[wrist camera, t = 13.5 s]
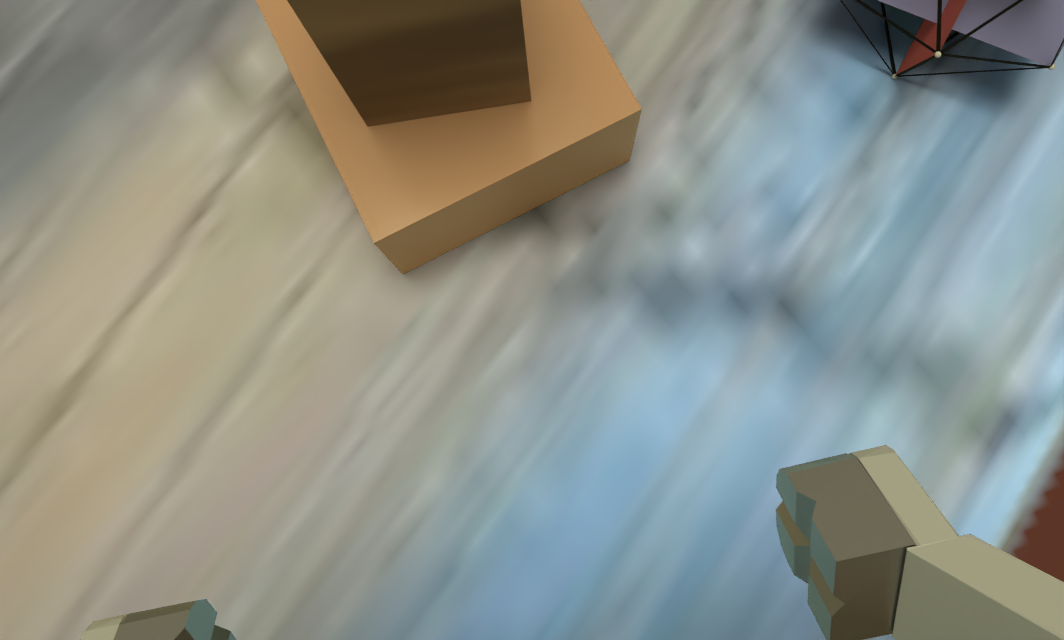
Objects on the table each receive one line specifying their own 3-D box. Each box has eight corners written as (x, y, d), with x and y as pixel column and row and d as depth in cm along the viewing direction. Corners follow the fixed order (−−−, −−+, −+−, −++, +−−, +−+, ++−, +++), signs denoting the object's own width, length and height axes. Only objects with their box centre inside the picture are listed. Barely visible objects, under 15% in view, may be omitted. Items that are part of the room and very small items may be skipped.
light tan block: (628, 164, 24) (641, 109, 20) (405, 276, 24) (373, 242, 20) (516, -36, 25) (508, -124, 22) (303, 68, 25) (255, -2, 21)
